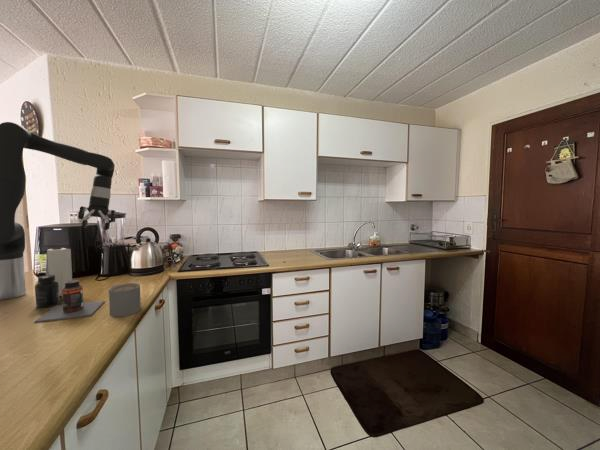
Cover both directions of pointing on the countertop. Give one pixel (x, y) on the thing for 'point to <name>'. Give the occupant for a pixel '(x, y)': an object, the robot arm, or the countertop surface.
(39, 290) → the supplement bottle
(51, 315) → the mat
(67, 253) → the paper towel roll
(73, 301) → the supplement bottle
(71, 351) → the countertop surface
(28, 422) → the countertop surface
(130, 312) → the coffee mug
